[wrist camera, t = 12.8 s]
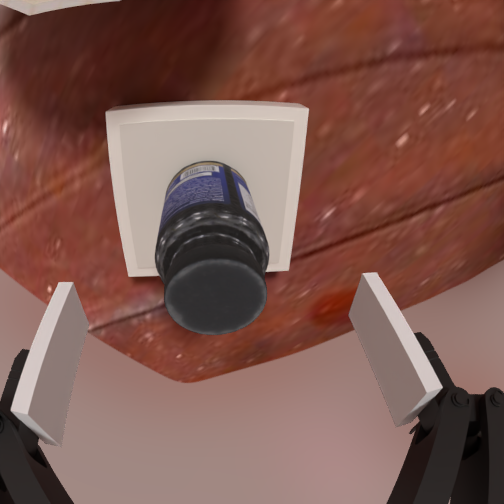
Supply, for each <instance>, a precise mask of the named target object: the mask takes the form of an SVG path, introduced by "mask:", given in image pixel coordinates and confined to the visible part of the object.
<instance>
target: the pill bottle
mask: <svg viewBox="0 0 504 504" xmlns="http://www.w3.org/2000/svg"><path fill="white" fill-rule="evenodd" d="M269 256H270V255H269V245H268V241H267V238H266V235H265V232H264V230H263V227H262V224H261V222H260V219H259V216H258V213H257V210H256V208H255V205H254V202H253V199H252V197H251V194H250V191H249V189H248V186H247V183H246V181H245V179H244V178H243V177H242V176H241V175H240V174H239V173H238V171H236V170H235V169H233V168H231V167H230V166H228V165H226V164H224V163H221V162H218V161H199V162H196V163H192V164H191V165H188V166H186V167H184V168H182V169H181V170H180V171H179V172H178V173H177V174H176V175H175V176H174V177H173V179H172V180H171V182H170V184H169V185H168V188H167V191H166V195H165V201H164V206H163V211H162V215H161V221H160V226H159V232H158V237H157V243H156V249H155V264H156V269H157V272H158V274H159V276H160V278H161V280H162V282H163V283H164V285H165V287H164V302H165V306H166V308H167V311H168V313H169V315H170V316H171V317H172V318H173V320H174V321H176V323H178V324H179V325H180V326H182V327H183V328H186V329H188V330H190V331H193V332H196V333H199V334H207V335H220V334H227V333H231V332H235V331H237V330H239V329H242V328H243V327H246V326H247V325H249V324H250V323H251V322H253V321H254V320H255V319H256V318H257V317H258V316H259V315H260V313H261V312H262V310H263V308H264V306H265V304H266V300H267V287H266V282H265V279H264V276H265V272H266V270H267V267H268V263H269Z"/></svg>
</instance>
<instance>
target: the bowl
mask: <svg viewBox="0 0 504 504" xmlns="http://www.w3.org/2000/svg"><path fill="white" fill-rule="evenodd" d="M113 1H120V0H0V4H2V5H4V6H7V7H9V8H12V9H14V10H17V11H19V12H22V13H24V14H27V15H29V16H30V15H34V14H38V13H43V12H47V11H52V10H57V9H62V8H68V7H74V6H80V5H87V4H94V3H103V2H113Z"/></svg>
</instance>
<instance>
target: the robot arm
mask: <svg viewBox="0 0 504 504" xmlns="http://www.w3.org/2000/svg"><path fill="white" fill-rule="evenodd" d="M349 318H350V320H351V322H352V324H353V326H354V329H355V331H356V333H357V335H358V338H359V340H360V342H361V344H362V346H363V349H364V351H365V353H366V356H367V358H368V360H369V363H370V365H371V367H372V370H373V372H374V374H375V376H376V379H377V381H378V384H379V386H380V388H381V391H382V393H383V396H384V398H385V401H386V403H387V406H388V408H389V411H390V413H391V416H392V418H393V421H394V423H395V426H396V427H398V426H402V425H405V424H408V423H411V422H412V421H413V420H414V419H415V418H416V417H417V416H418V418H419V420H420V421H419V422H418V424H416V426H414V427H413V428H412V429H411V431H410V433H409V434H412V433H413V432H414V431H415V433H414V436H413V439H412V442H411V445H410V448H409V450H408V453H407V456H406V459H405V461H404V464H403V466H402V469H401V471H400V474H399V477H398V479H397V481H396V484H395V486H394V488H393V491H392V493H391V495H390V497H389V500H388V502H387V504H448V502H449V499H450V497H451V500H450V504H504V393H503V391H501V390H500V389H498V388H495V387H493V388H490V389H488V390H487V391H486V392H485V394H481V395H480V394H479V395H478V394H468V393H467V391H466V390H464V389H462V388H459V387H456V386H455V385H454V383H453V382H452V380H451V378H450V376H449V374H448V373H447V371H446V369H445V367H444V365H443V363H442V362H441V360H440V359H439V356H438V354H437V353H436V351H434V348H433V346H432V344H431V342H430V341H429V339H428V338H426V337H425V336H424V335H423V334H422V333H421V332H418V333H413V332H412V330H411V328H410V327H409V325H408V323H407V322H406V320H405V318H404V316H403V315H402V313H401V311H400V310H399V308H398V306H397V305H396V303H395V301H394V300H393V298H392V297H391V295H390V293H389V292H388V290H387V288H386V287H385V285H384V284H383V282H382V281H381V279H380V277H379V276H378V274H377V273H362V276H361V279H360V282H359V285H358V289H357V292H356V294H355V297H354V300H353V303H352V306H351V309H350V312H349ZM88 328H89V323H88V320H87V318H86V315H85V313H84V310H83V308H82V305H81V302H80V300H79V297H78V294H77V291H76V289H75V286H74V283H73V282H59V283H58V285H57V288H56V290H55V292H54V294H53V296H52V298H51V301H50V303H49V305H48V307H47V310H46V312H45V315H44V317H43V319H42V321H41V324H40V326H39V329H38V331H37V334H36V336H35V339H34V341H33V344H32V347H31V349H30V350H25V349H22V350H21V351H20V353H19V354H18V355H17V357H16V358H15V360H14V363H13V365H12V368H11V371H10V374H9V376H8V379H7V382H6V385H5V388H4V391H3V394H2V397H1V401H0V504H74V503H73V501H72V500H71V498H70V497H69V495H68V494H67V492H66V491H65V489H64V487H63V486H62V484H61V483H60V481H59V479H58V478H57V476H56V475H55V473H54V471H53V469H52V468H51V466H50V464H49V462H48V461H47V459H46V457H45V455H44V453H43V451H42V450H41V448H40V446H39V445H38V440H39V438H40V439H41V440H42V441H43V442H44V443H46V444H50V445H55V446H60V447H61V446H62V440H63V434H64V428H65V423H66V418H67V412H68V407H69V403H70V398H71V393H72V389H73V384H74V380H75V376H76V372H77V368H78V364H79V360H80V356H81V352H82V349H83V345H84V341H85V338H86V334H87V331H88Z"/></svg>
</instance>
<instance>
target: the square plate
mask: <svg viewBox="0 0 504 504" xmlns="http://www.w3.org/2000/svg"><path fill="white" fill-rule="evenodd" d="M308 112H309V108H307V107H305V106H303V105H301V104H297V103H283V102H266V101H233V100H207V101H175V102H158V103H144V104H133V105H123V106H115V107H113V108H111V109H109V110H108V111H106V126H107V139H108V149H109V159H110V168H111V176H112V184H113V191H114V198H115V205H116V211H117V218H118V224H119V229H120V235H121V240H122V246H123V251H124V256H125V261H126V266H127V271H128V275H129V277H135V276H159V274H158V272H157V269H156V264H155V249H156V243H157V237H158V232H159V226H160V221H161V215H162V211H163V206H164V201H165V195H166V191H167V188H168V185H169V184H170V182H171V180H172V179H173V177H174V176H175V175H176V174H177V173H178V172H179V171H180V170H181V169H182V168H184V167H186V166H188V165H191V164H192V163H196V162H199V161H218V162H221V163H224V164H226V165H228V166H230V167H231V168H233V169H235V170H236V171H238V173H239V174H240V175H241V176H242V177H243V178H244V179H245V181H246V183H247V186H248V189H249V191H250V194H251V197H252V199H253V202H254V205H255V208H256V210H257V213H258V216H259V219H260V222H261V224H262V227H263V230H264V232H265V235H266V238H267V241H268V245H269V255H270V256H269V263H268V267H267V270H266V272H271V271H289V264H290V257H291V250H292V243H293V236H294V229H295V221H296V214H297V206H298V199H299V191H300V183H301V175H302V166H303V158H304V149H305V140H306V131H307V122H308Z"/></svg>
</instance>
